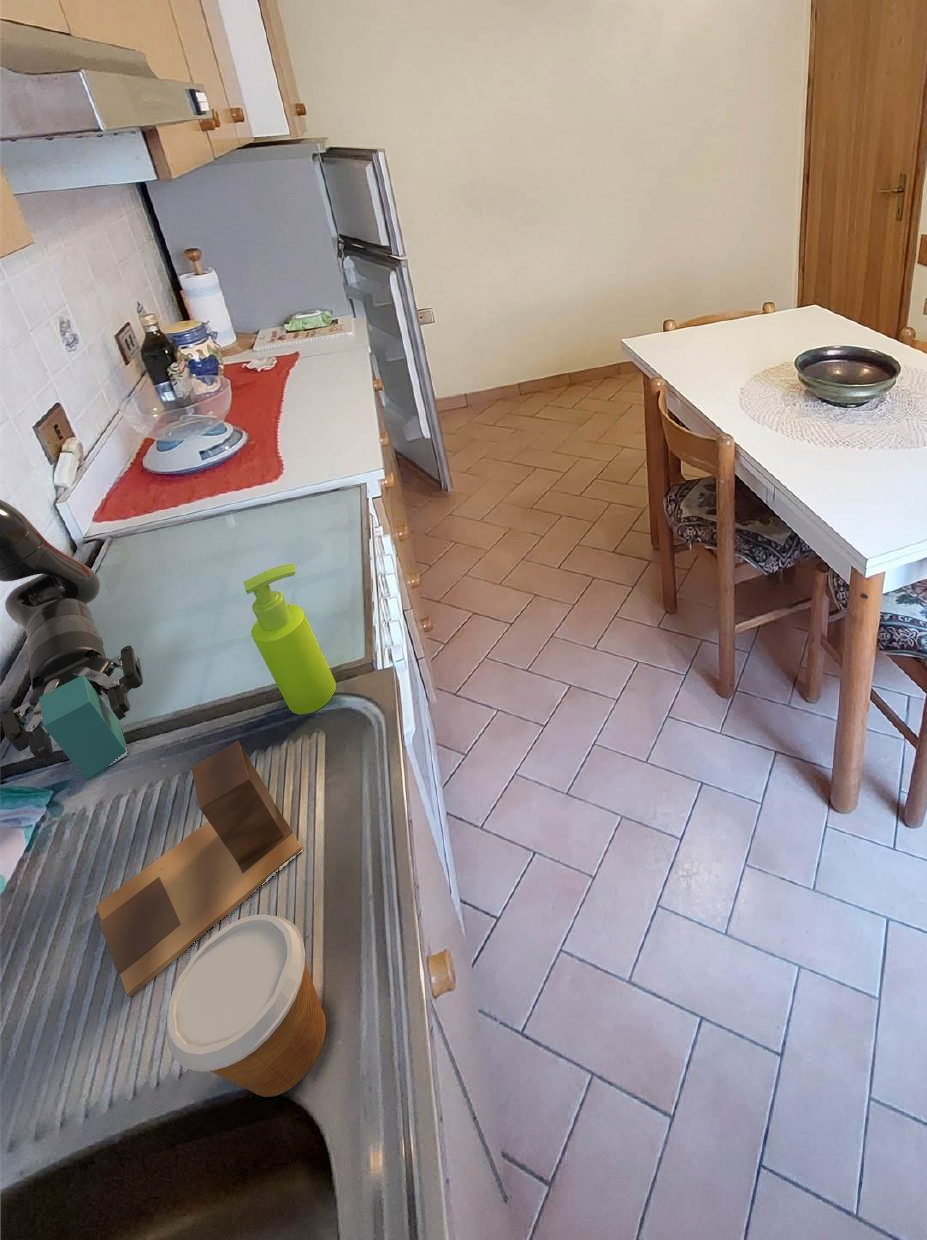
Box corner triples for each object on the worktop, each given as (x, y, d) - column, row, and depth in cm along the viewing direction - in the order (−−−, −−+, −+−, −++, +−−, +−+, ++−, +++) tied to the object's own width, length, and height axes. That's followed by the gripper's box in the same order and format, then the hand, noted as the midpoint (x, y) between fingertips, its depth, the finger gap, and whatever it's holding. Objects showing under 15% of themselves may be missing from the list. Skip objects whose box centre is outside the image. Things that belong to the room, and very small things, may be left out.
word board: (128, 998, 61) (124, 994, 60) (98, 910, 68) (93, 905, 67) (304, 850, 71) (302, 845, 71) (262, 785, 78) (260, 781, 77)
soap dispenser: (349, 693, 88) (297, 577, 78) (292, 723, 85) (231, 606, 75) (338, 664, 92) (288, 551, 83) (284, 691, 89) (226, 577, 80)
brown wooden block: (239, 865, 69) (199, 808, 65) (229, 824, 73) (191, 767, 68) (284, 836, 72) (249, 778, 67) (272, 797, 76) (238, 740, 71)
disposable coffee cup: (271, 1156, 51) (208, 1096, 45) (199, 1078, 56) (132, 1013, 50) (369, 1013, 58) (325, 945, 53) (298, 954, 63) (250, 885, 57)
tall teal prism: (86, 780, 80) (43, 726, 76) (80, 750, 84) (38, 697, 79) (129, 755, 83) (89, 700, 78) (121, 727, 87) (83, 673, 82)
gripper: (-19, 669, 84) (-14, 755, 73) (116, 604, 92) (139, 673, 81) (14, 708, 88) (23, 797, 77) (141, 643, 96) (166, 714, 85)
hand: (83, 733), depth 79 cm, fingers open, 6 cm apart
